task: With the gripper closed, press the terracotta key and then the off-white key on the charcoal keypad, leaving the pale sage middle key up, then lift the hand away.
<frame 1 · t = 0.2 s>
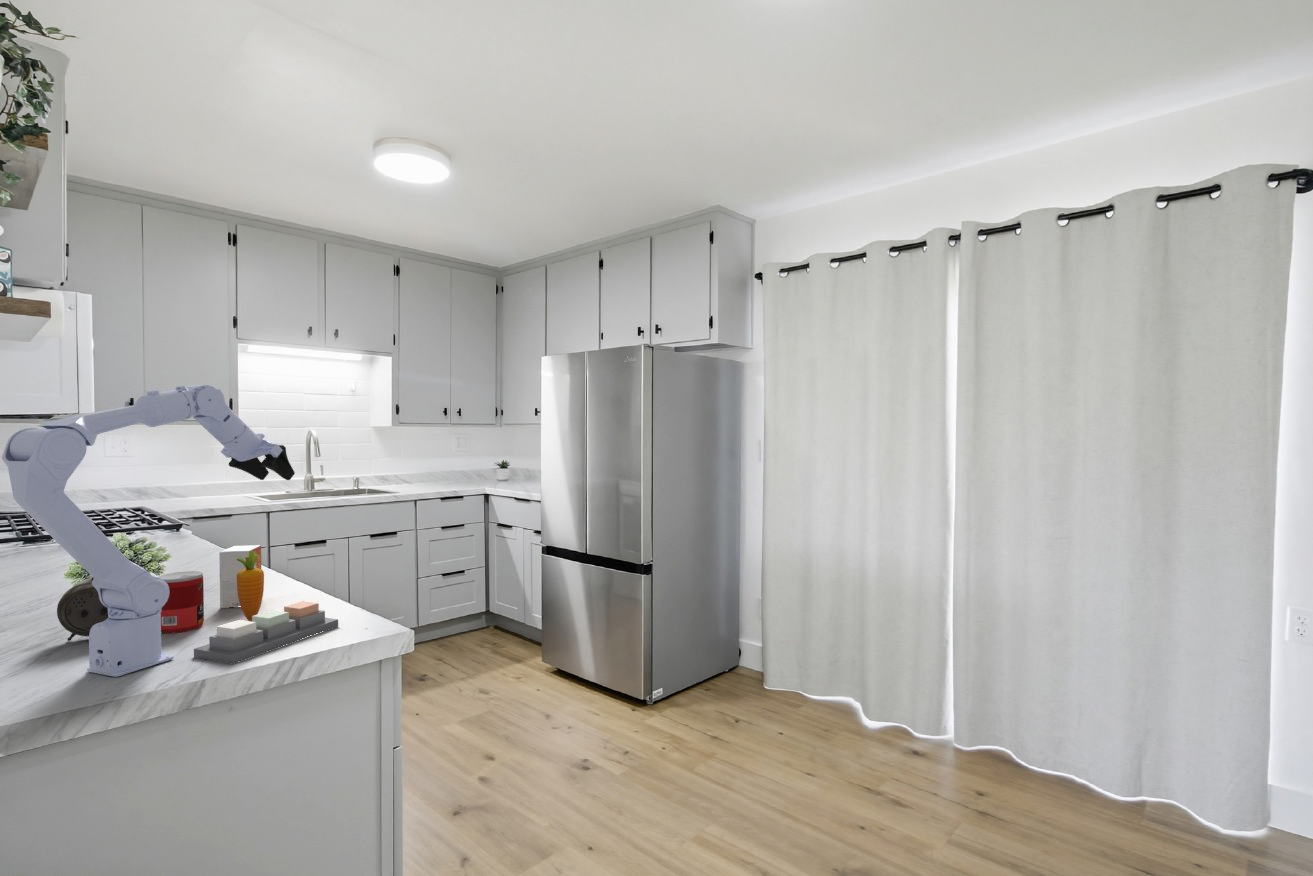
hand: (278, 476, 143), 31 cm above the worktop, tool tilted 45°, fingers open, 7 cm apart
canned food: (180, 629, 138), on the worktop
small box: (241, 604, 157), on the worktop
carrot: (251, 623, 142), on the worktop
terracotta key: (301, 609, 136), point 4 cm above the worktop, slide at 0.0 cm
offwhite key: (236, 629, 123), point 4 cm above the worktop, slide at 0.0 cm
sage key: (270, 619, 130), point 4 cm above the worktop, slide at 0.0 cm
keypad console: (271, 640, 130), on the worktop
alarm clock: (95, 641, 131), on the worktop
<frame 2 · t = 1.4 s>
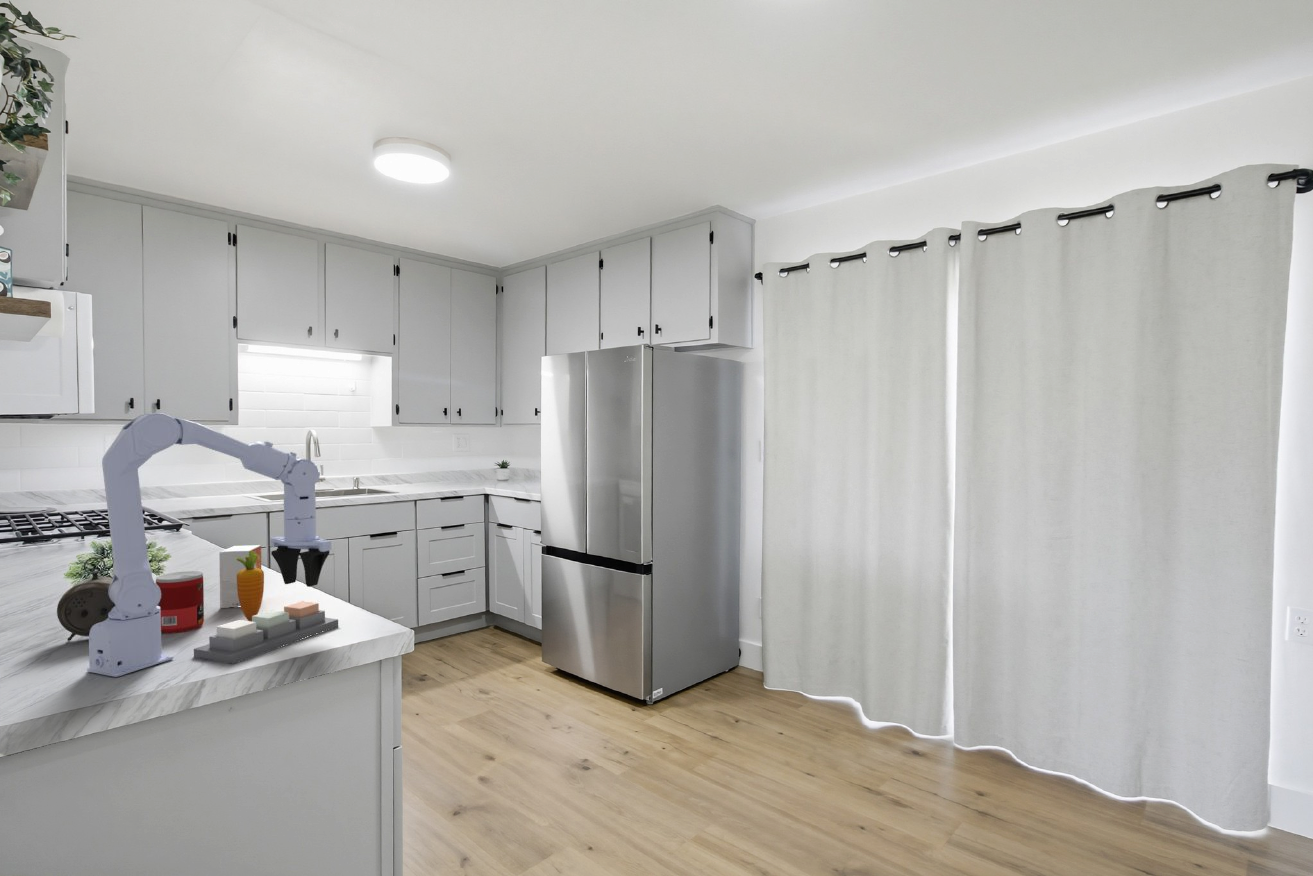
hand: (301, 584, 136), 9 cm above the worktop, tool pointing down, fingers open, 5 cm apart
nothing on the worktop moved.
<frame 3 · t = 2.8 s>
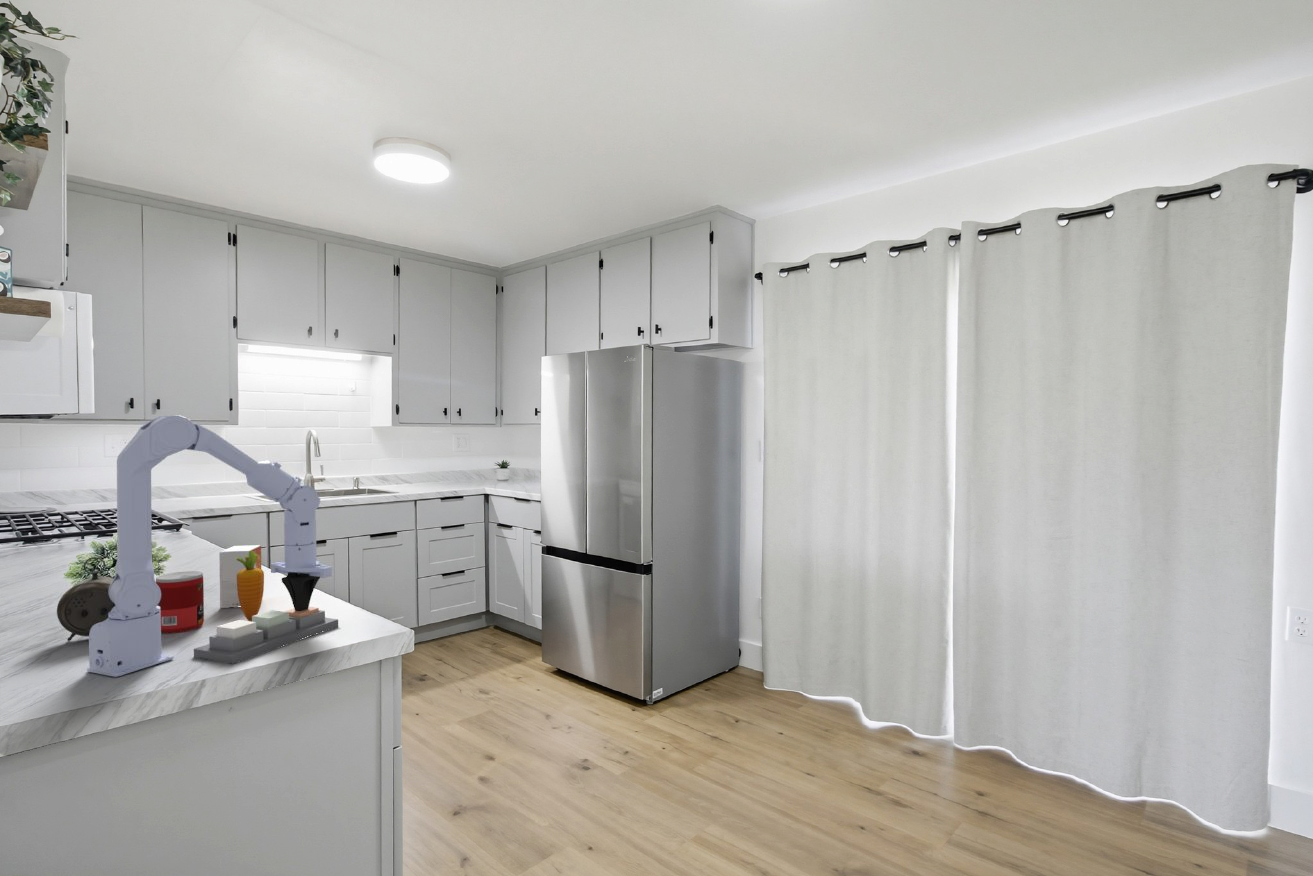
hand: (301, 610, 136), 4 cm above the worktop, tool pointing down, fingers closed, pressing on terracotta key
terracotta key: (301, 614, 136), point 3 cm above the worktop, slide at 1.0 cm, touching gripper
everything else where it was.
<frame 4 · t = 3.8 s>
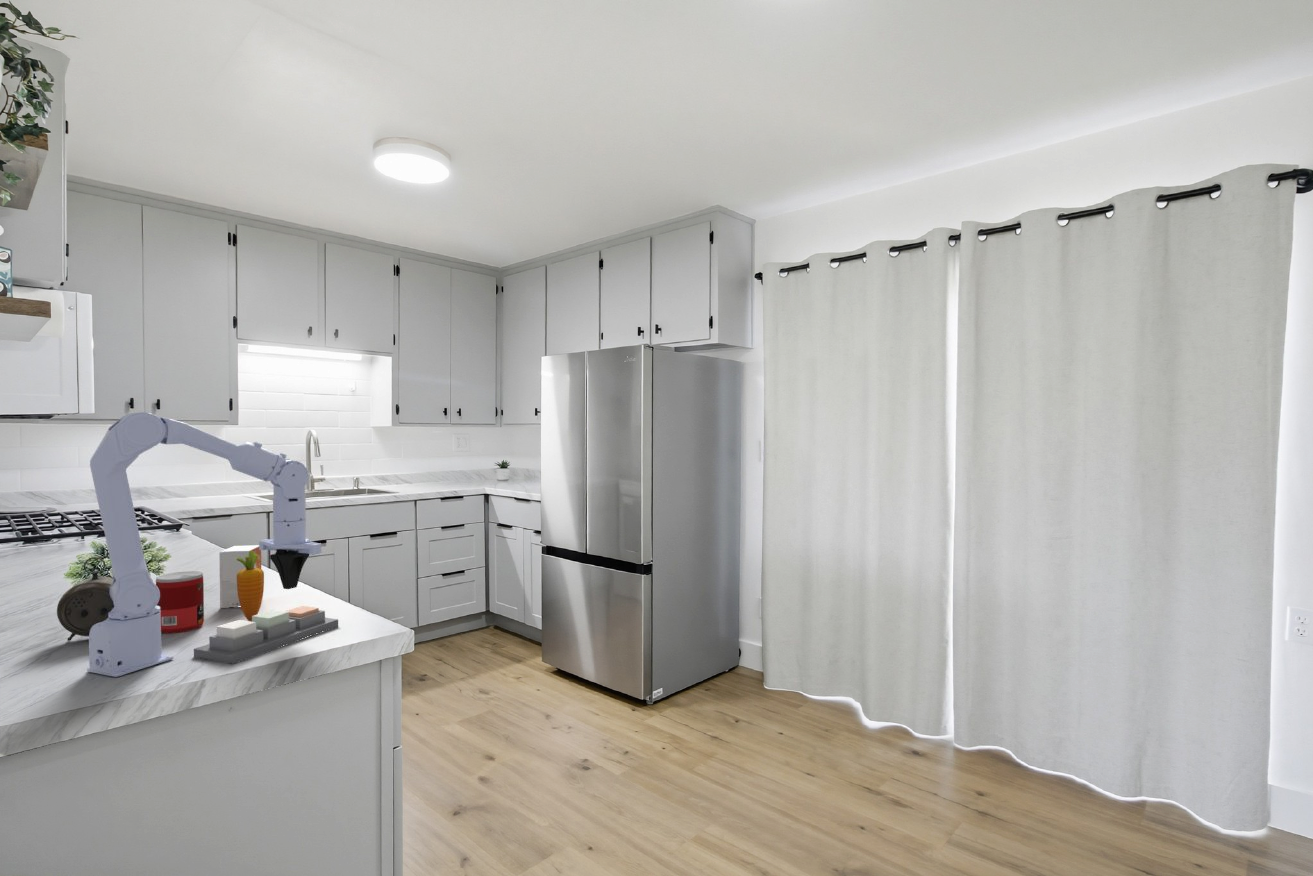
hand: (290, 587, 134), 9 cm above the worktop, tool pointing down, fingers closed
terracotta key: (301, 614, 136), point 3 cm above the worktop, slide at 1.0 cm
everything else where it was.
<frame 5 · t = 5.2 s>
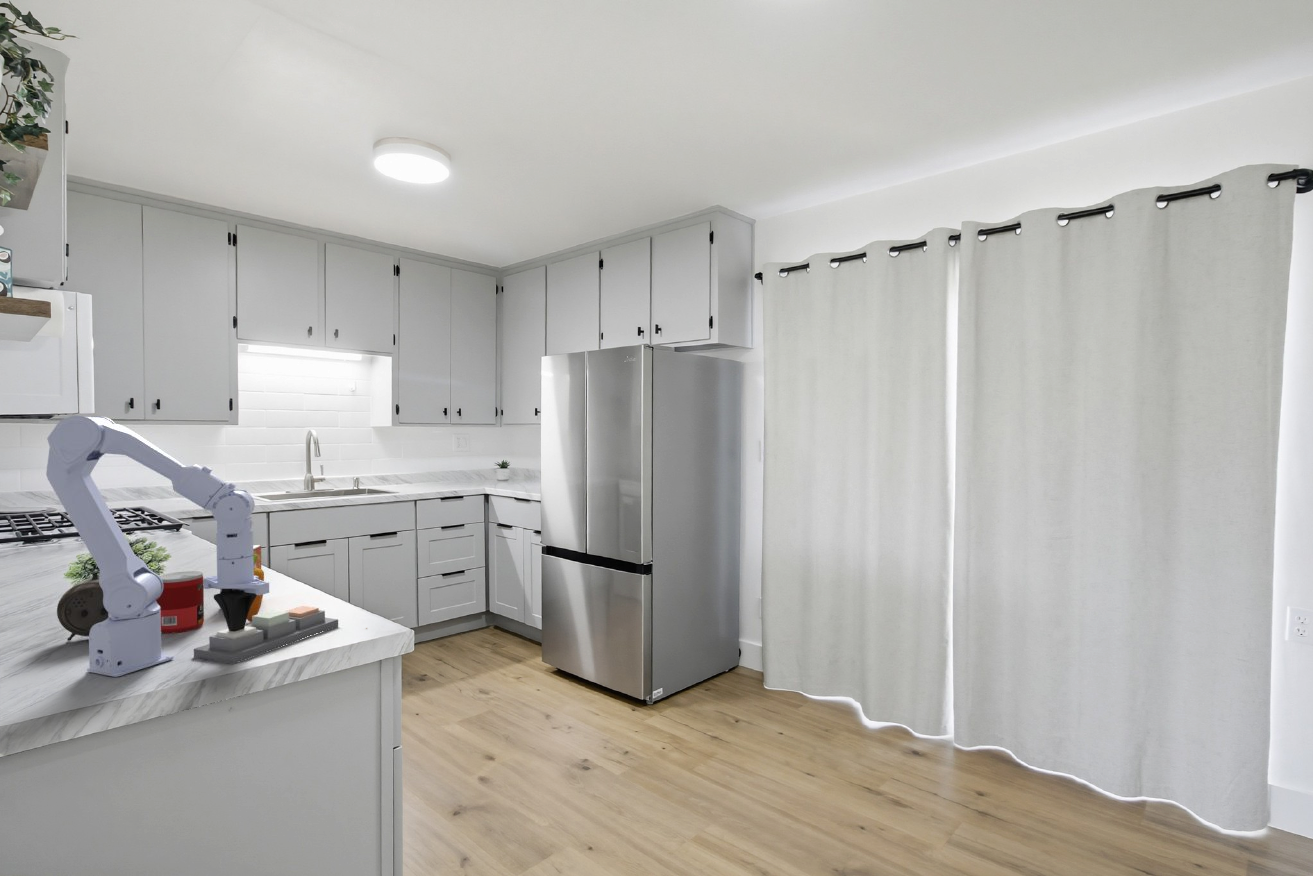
hand: (236, 630, 123), 4 cm above the worktop, tool pointing down, fingers closed, pressing on offwhite key
offwhite key: (236, 635, 123), point 3 cm above the worktop, slide at 1.0 cm, touching gripper
everything else where it was.
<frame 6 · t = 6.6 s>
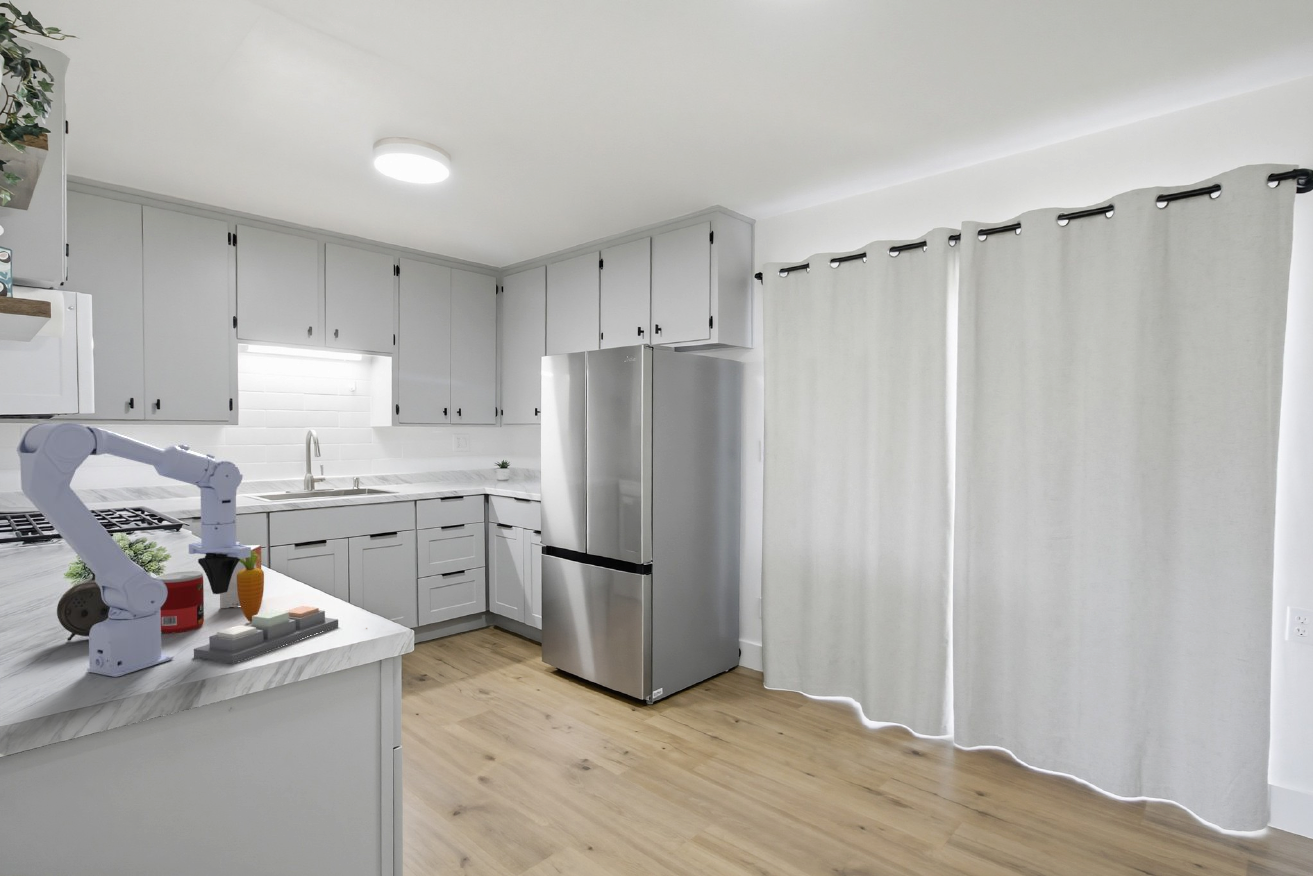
hand: (220, 592, 130), 9 cm above the worktop, tool pointing down, fingers closed
offwhite key: (236, 635, 123), point 3 cm above the worktop, slide at 1.0 cm
everything else where it was.
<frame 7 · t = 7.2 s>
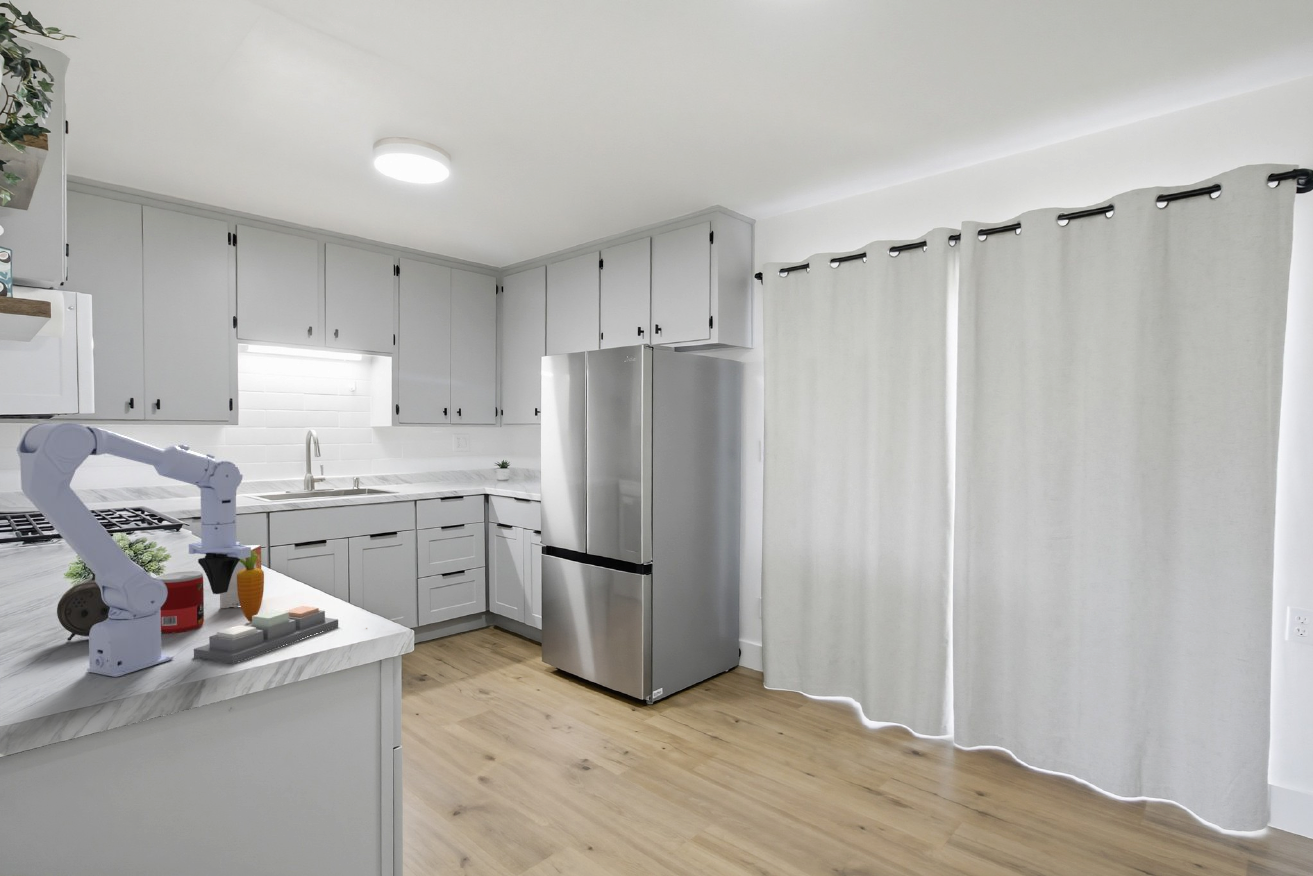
hand: (220, 592, 130), 9 cm above the worktop, tool pointing down, fingers closed
nothing on the worktop moved.
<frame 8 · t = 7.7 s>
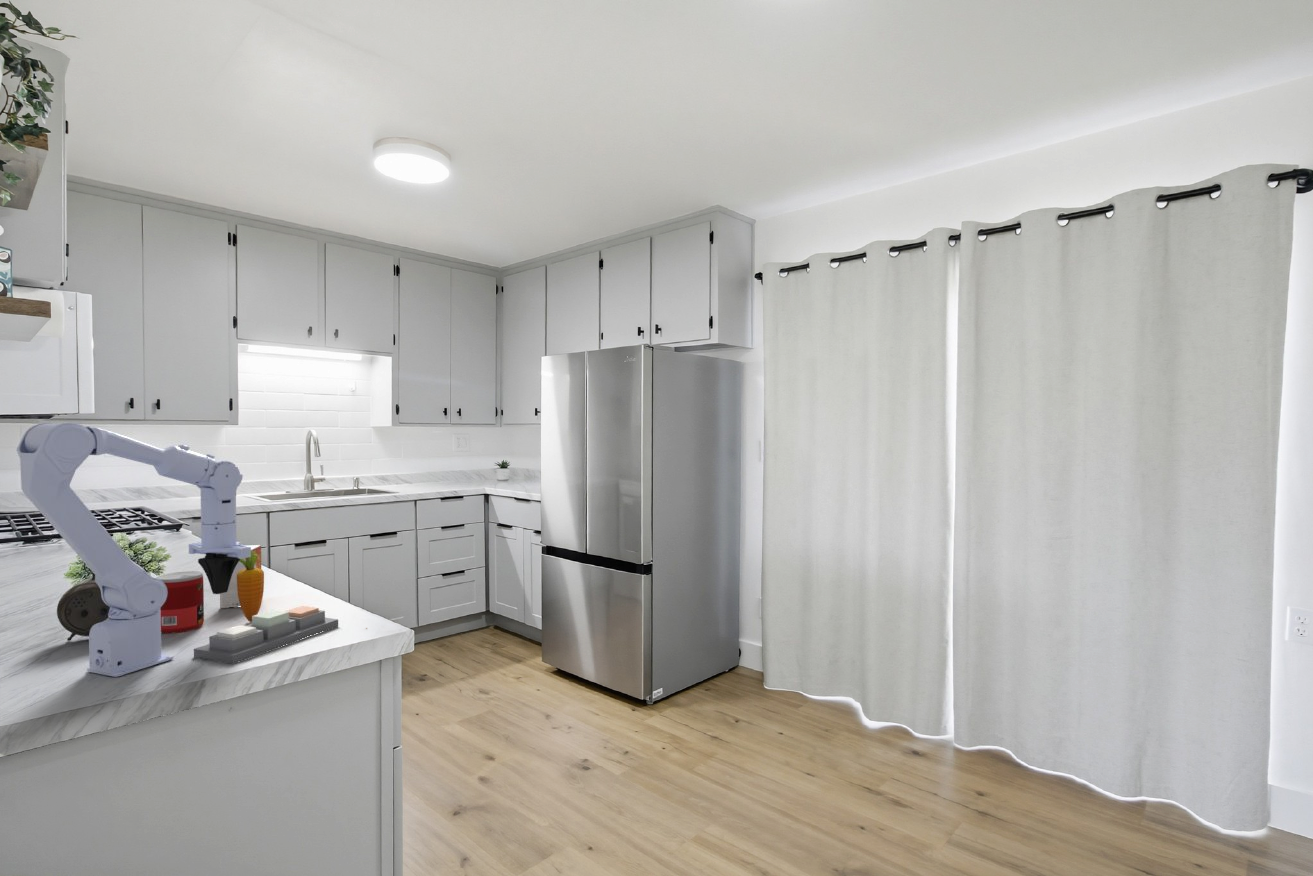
hand: (220, 592, 130), 9 cm above the worktop, tool pointing down, fingers closed
nothing on the worktop moved.
at the end: terracotta key slide at 1.0 cm; offwhite key slide at 1.0 cm; sage key slide at 0.0 cm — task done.
